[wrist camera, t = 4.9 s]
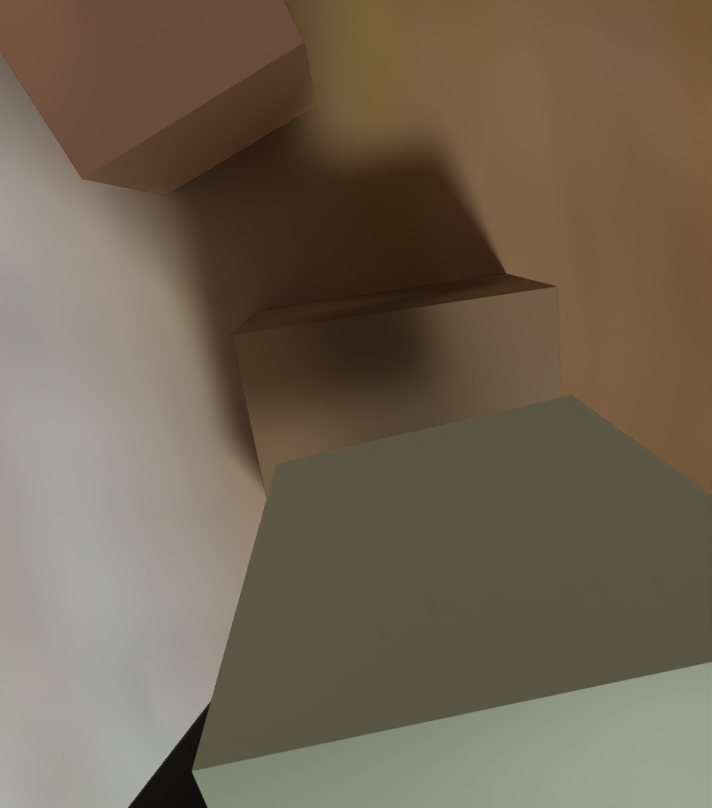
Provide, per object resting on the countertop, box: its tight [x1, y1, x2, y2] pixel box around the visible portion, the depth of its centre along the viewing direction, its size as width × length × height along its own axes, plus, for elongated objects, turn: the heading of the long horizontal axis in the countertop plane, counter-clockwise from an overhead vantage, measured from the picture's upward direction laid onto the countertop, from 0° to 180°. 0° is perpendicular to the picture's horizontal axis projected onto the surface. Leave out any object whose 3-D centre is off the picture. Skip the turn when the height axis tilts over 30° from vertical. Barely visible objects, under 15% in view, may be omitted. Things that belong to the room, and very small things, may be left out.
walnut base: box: [232, 274, 561, 498], centre depth 15 cm, size 7×7×4 cm
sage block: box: [192, 395, 712, 808], centre depth 7 cm, size 4×4×5 cm
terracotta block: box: [0, 0, 316, 196], centre depth 11 cm, size 4×4×5 cm
